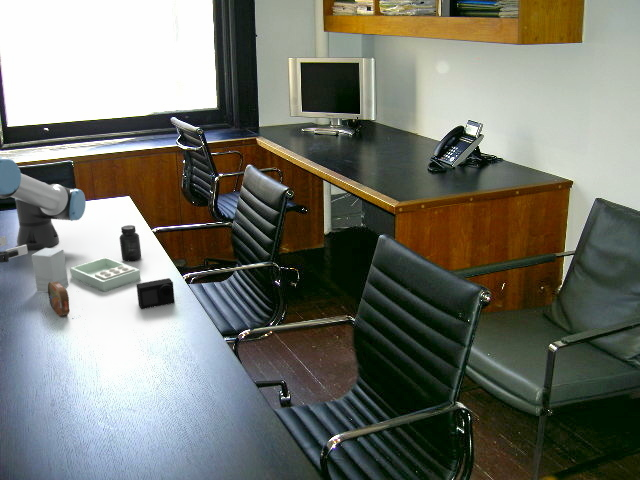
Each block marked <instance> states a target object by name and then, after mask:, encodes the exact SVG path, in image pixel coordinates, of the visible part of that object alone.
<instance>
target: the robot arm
mask: <svg viewBox="0 0 640 480" xmlns="http://www.w3.org/2000/svg"><path fill="white" fill-rule="evenodd" d="M85 196H86V195H85V193H84V192H83V190H81V189H78V188H69V187H65V186H62V185H61V184H57V183H52V184H48V183H46V182H43V181H40V180H38V179H36V178H33V177H30V176H28V175H26V174H23V173H22V172H21V169H20V168H19V166H18V164H17V162H15V161H14V160H13V159H11V158H8V157H4V156H0V199H7V198H13V199H14V201H15V206H16V213H17V219H18V226H19V227H18V233H17V237H16V244H17V246H15V247H11V248H7V249H5V250H4V251H0V264H3V263H9V261H10V259H13V258H17V257H20V256H24V255H29V252H28V251H31V250H32V251H34V250H35V251H36V250H42V249H44V248H51V247H54V246H57V245H58V244H59V243H60V237H59V233H58V232H57V230H56V228H55V226H54V224H53V222H52V220H62V221H71V222H73V221H79V220H81V218H82V217H83V216H84V214H85V210H86V197H85ZM7 245H8V241H7V236H6V235H4V236H0V247H3V246H7Z"/></svg>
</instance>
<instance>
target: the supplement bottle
mask: <svg viewBox="0 0 640 480" xmlns="http://www.w3.org/2000/svg"><path fill="white" fill-rule="evenodd" d="M120 232H121V234H120V236H119V244H120V252H121V253H120V254H121V260H122V261H124V262H126V263H127V262H129V263H132V262H136V261H139V260H141V258H142V250H141V241H140V236H139V234H138V233H137V232H136V226H135V225H131V224H129V225H124V226H121V231H120Z"/></svg>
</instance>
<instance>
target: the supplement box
mask: <svg viewBox="0 0 640 480" xmlns="http://www.w3.org/2000/svg"><path fill="white" fill-rule="evenodd" d="M65 258H66V257H65V251H64V249H63V248H51V247H48V248H44V249H39V250H38V251H37V252H34V253H33V254H31V261H32V262H31V263H32V267H33V274H34V279H35V280H34V281H35V285H36V292H43V293H48V284H49V282H59V283H60V284H61V285H62V286H63V287H64V288H65V289H66V287H68V286H69V279H68V273H67V265H66V259H65Z"/></svg>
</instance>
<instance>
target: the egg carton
mask: <svg viewBox="0 0 640 480" xmlns="http://www.w3.org/2000/svg"><path fill="white" fill-rule="evenodd" d="M132 271H134V269H133V268H130V267H127V266H125V265H120V266H118V267H116V268H111V269H109V270H106V271H102V272H100V273H97V274H95V277H96V278H99V279H101V280H103V281H104V280H107V279H110V278H113V277H116V276H119V275H122V274H125V273H128V272H132Z"/></svg>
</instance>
